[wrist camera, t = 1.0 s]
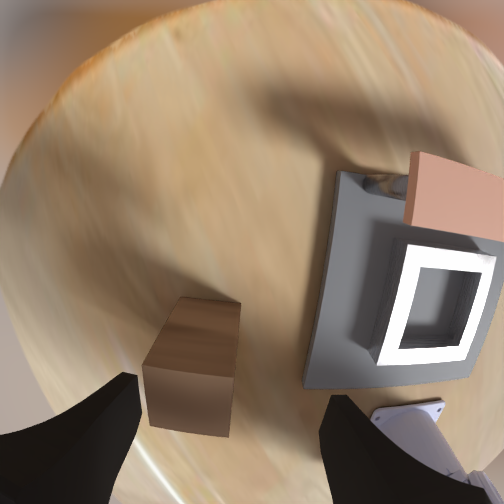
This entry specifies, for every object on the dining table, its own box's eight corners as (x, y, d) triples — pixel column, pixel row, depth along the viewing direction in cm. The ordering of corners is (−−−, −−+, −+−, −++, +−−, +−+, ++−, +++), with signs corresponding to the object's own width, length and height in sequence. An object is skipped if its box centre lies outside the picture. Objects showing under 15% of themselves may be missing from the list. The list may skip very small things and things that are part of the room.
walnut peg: (236, 354, 21) (228, 437, 13) (180, 347, 21) (149, 425, 13) (241, 303, 20) (233, 377, 12) (180, 296, 20) (141, 364, 12)
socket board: (463, 371, 22) (505, 418, 14) (301, 380, 21) (317, 455, 14) (510, 198, 18) (576, 212, 10) (338, 155, 17) (389, 143, 10)
